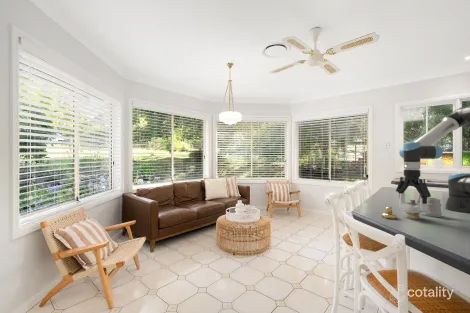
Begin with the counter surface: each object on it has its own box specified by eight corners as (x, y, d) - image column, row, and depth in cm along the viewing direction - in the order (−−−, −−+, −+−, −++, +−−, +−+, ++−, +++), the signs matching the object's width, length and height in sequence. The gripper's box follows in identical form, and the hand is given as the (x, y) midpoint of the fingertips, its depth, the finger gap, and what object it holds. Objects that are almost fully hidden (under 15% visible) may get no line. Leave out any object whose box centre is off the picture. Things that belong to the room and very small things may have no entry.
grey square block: (413, 208, 135) (413, 201, 135) (427, 212, 126) (427, 205, 126) (399, 209, 134) (398, 202, 134) (412, 213, 125) (412, 205, 125)
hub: (390, 215, 136) (390, 205, 136) (399, 218, 129) (399, 208, 129) (379, 216, 135) (378, 206, 135) (388, 219, 128) (388, 208, 128)
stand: (413, 216, 134) (412, 199, 133) (422, 219, 128) (422, 201, 128) (403, 216, 133) (403, 199, 133) (412, 219, 127) (412, 201, 127)
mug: (441, 218, 129) (441, 196, 129) (415, 214, 137) (414, 194, 137) (442, 215, 134) (442, 194, 134) (417, 212, 143) (416, 192, 142)
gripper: (388, 168, 142) (389, 202, 142) (426, 170, 117) (426, 212, 117) (400, 168, 143) (400, 202, 143) (439, 170, 118) (439, 211, 118)
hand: (412, 206), depth 130 cm, fingers open, 13 cm apart
